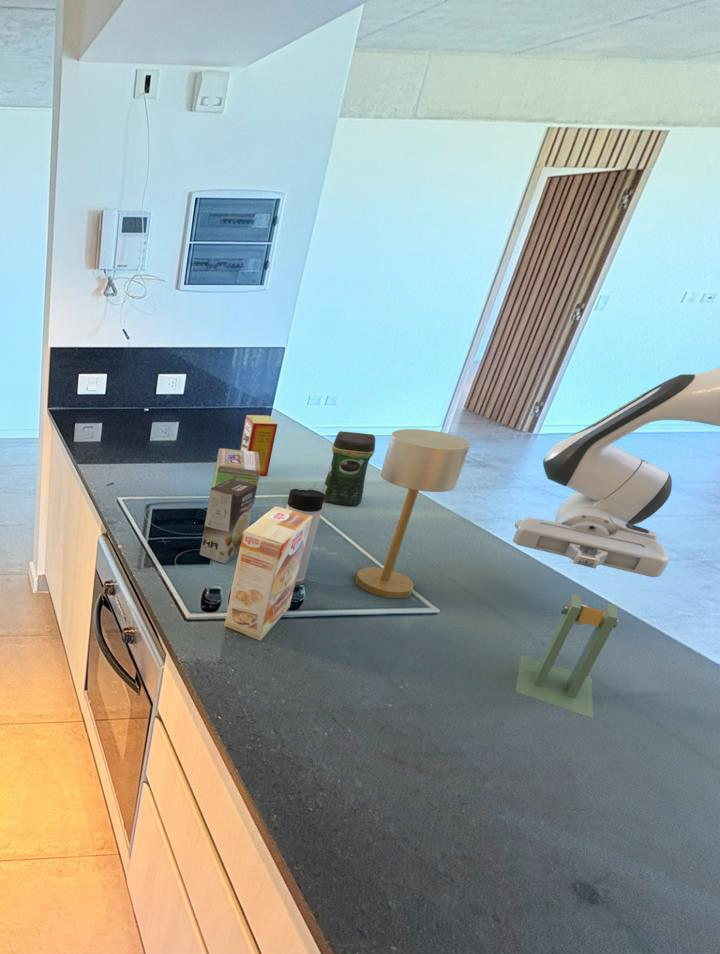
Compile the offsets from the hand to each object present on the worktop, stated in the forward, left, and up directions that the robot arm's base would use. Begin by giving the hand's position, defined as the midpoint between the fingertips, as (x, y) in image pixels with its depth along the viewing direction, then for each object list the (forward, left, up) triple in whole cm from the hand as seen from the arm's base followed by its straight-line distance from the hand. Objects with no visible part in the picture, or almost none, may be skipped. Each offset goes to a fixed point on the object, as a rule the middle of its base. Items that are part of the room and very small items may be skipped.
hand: (586, 562), depth 105 cm
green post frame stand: (+16, +14, -14) cm, 25 cm away
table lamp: (+20, -19, -14) cm, 30 cm away
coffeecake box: (+51, -12, -14) cm, 54 cm away
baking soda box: (+12, -86, -14) cm, 88 cm away
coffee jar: (+1, -61, -14) cm, 62 cm away
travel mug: (+38, -24, -14) cm, 47 cm away
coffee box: (+46, -37, -14) cm, 60 cm away
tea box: (+34, -58, -14) cm, 68 cm away
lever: (+13, +12, -4) cm, 18 cm away
